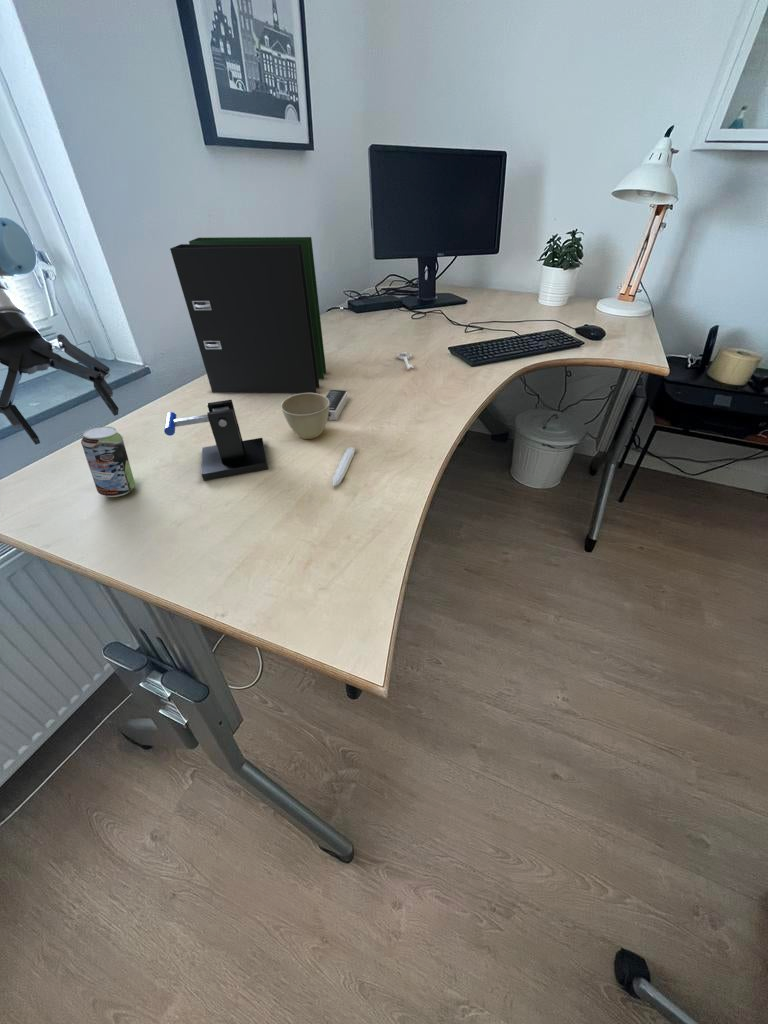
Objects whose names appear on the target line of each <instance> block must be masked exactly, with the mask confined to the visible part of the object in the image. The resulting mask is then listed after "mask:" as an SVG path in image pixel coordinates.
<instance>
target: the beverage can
mask: <svg viewBox="0 0 768 1024" xmlns="http://www.w3.org/2000/svg"><path fill="white" fill-rule="evenodd" d="M81 447H82V449H83V452H84V455H85V458H86V461H87V465H88V468H89V470H90V474H91V477H92V479H93V483H94V486H95V488H96V491H97V493H98V494H99V495H101V496H105V497H108V498H116V497H121V496H122V497H123V496H125V495H127V494H129V493H130V492H131V491H133V489H134V488H135V486H136V482H135V479H134V476H133V471H132V468H131V467H132V466H131V464H130V460H129V458H128V457H129V456H128V453H127V450H126V446H125V442H124V438H123V436H122V435H121V433H120V432H118V431H117V429H116V428H115V427H112V426H95V427H92V428H89V429H87V430H84V431H83V433H82V439H81Z"/></svg>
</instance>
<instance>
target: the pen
mask: <svg viewBox="0 0 768 1024" xmlns="http://www.w3.org/2000/svg"><path fill="white" fill-rule="evenodd" d="M355 452H356V448H355V447H353V446H348V447H347V448H346V450H345V452H344V454H343V455H342V458H341V460H340V462H339V464H338V466H337V468H336V470H335V472H334V475H333V477H332V486H333V487H336V486H338V485H340V484H341V482H342V480H343V479H344V477H345V475H346V473H347V471H348V469H349V467H350V464H351V462H352V459H353V458H354V455H355Z"/></svg>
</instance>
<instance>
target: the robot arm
mask: <svg viewBox="0 0 768 1024" xmlns="http://www.w3.org/2000/svg"><path fill="white" fill-rule="evenodd" d="M37 263H38V255H37V251H36V249H35V247H34V243H33V240H32V238H31V237H30V235H29V234H28V232H27V231H26V230H25V229H24V227H22V226H21V225H20V224H18V223H17V222H16V221H15V220H12V219H10V218H8V217H3V216H2V217H0V277H16V276H27V275H30V274H32V273H33V272H34V271H35V269H36V267H37ZM54 349H55V350H58V351H60V352H61V353H62V352H64V353H65V354H66V355H68V356H69V357H70V358H72V359H74V360H76V361H77V362H75V361H73V360H70V359H67V358H65V357H63V356H61V355H60V354H58V353H57V352H53V351H54ZM0 364H1V365H4V366H5V367H7V373H6V376H5V380H4V384H3V387H2V390H1V393H0V414H2V415H4V416H5V418H6V419H7V420H8V422H9V423H10V425H11V426H12V427H13V429H16V430H17V429H20V428H23V430H24V431H25V433H26V434H27V435H28V436H29V438H30V439H31V441H32V442H33V443H34V445H39V444H41V440H40V438H39V436H38V434H37V433H36V431H34V429H33V427H32V426H31V425H30V424H29V422H28V421H27V419H26V418H25V417H24V416H23V414H22V413H21V411H20V410H19V409H18V407H17V405H16V404H14V401H15V397H16V393H17V390H18V387H19V384H20V381H21V380H22V377H23V374H28V375H33V374H35V373H36V372H43V371H47V370H49V368H52V369H55V370H60V371H63V372H66V373H69V374H71V375H74V376H77V377H78V378H81V379H83V380H86V381H89V382H91V383H93V388H94V389H95V391H96V393H97V394H98V395H99V397H100V398H101V399H102V401H103V402H104V404H105V405H106V406H107V408H108V409H109V410H110V412H111V413H112V415H113V416H114V417H115V416H118V415H119V407H118V405H117V404H116V402H115V401H114V400H113V398H112V397H113V396H114V392H113V389H112V387H111V386H110V385H109V384H108V382H107V380H106V379H109V378H110V376H111V375H110V374H111V373H110V372H111V370H110V369H111V368H110V367H109V366H107V365H106V364H104V363H102V362H101V361H100V360H98V359H97V358H95V357H93V356H92V355H90V354H88V353H87V352H85V350H83V349H81V348H80V347H77V346H76V345H74V344H73V343H71V341H70V340H69V339H68V338H67V337H66V336H65V335H64V334H62V333H59V334H57V336H56V338H55V339H52V340H48V339H45V337H43V335H42V334H41V333H40V332H39V330H38V329H37V327H36V325H35V324H34V323H33V322H32V320H31V319H30V318H29V317H28V315H27V313H26V312H25V310H24V309H23V308H22V306H21V305H20V303H19V302H18V300H17V299H16V298H15V296H14V295H13V294H12V293H11V291H10V289H8V287H7V286H6V284H5V283H4V282H3V280H2V279H1V278H0Z"/></svg>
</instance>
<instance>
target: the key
mask: <svg viewBox="0 0 768 1024" xmlns="http://www.w3.org/2000/svg"><path fill="white" fill-rule="evenodd" d="M396 358H397V359H399V360H404V364H405V368H406V370H407V371H410V369H414V366H413V364H412V363H411V364H409V361H408V360H410V359H411V358H412V353H410V352H405V351H402V352H398V353H397V355H396Z"/></svg>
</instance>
